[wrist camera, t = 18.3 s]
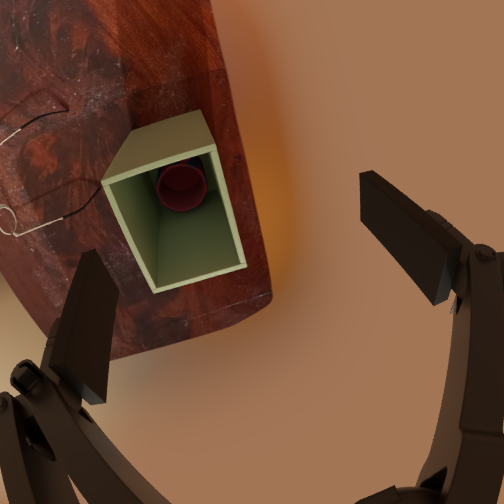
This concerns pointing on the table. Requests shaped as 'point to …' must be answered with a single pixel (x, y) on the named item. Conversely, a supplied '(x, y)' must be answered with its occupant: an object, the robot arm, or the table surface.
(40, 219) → the table surface
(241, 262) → the bin
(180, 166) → the mug
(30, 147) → the table surface
